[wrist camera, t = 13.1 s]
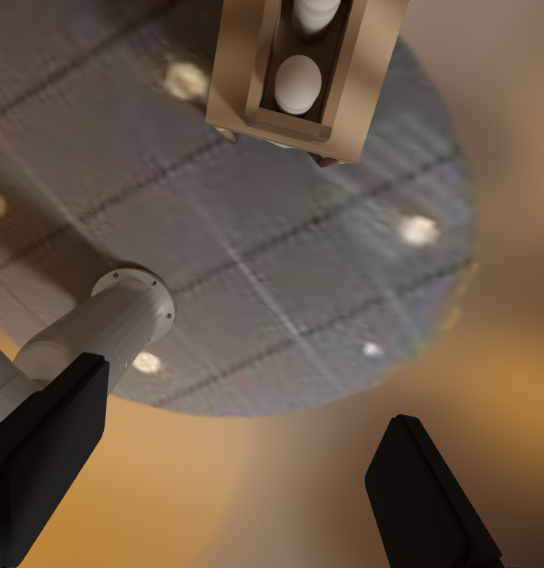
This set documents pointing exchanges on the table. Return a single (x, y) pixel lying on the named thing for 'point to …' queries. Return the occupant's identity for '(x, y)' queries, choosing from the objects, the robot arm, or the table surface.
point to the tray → (320, 55)
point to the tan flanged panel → (356, 93)
